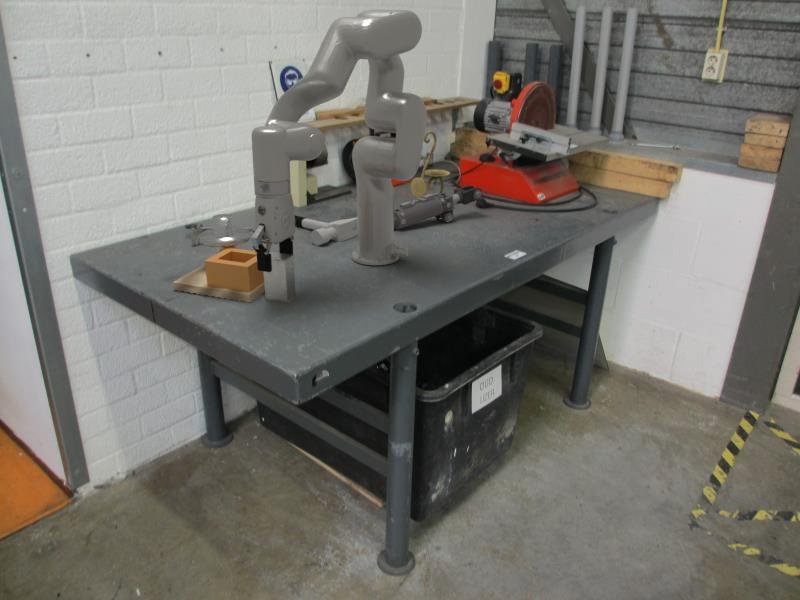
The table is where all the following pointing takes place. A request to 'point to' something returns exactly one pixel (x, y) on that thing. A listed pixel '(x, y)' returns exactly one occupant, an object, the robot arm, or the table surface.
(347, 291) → the table surface
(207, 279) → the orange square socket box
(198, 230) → the grey small pieces
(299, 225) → the claw hammer
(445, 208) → the hydraulic cylinder
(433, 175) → the wall sconce
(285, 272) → the grey upright block
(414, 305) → the table surface
